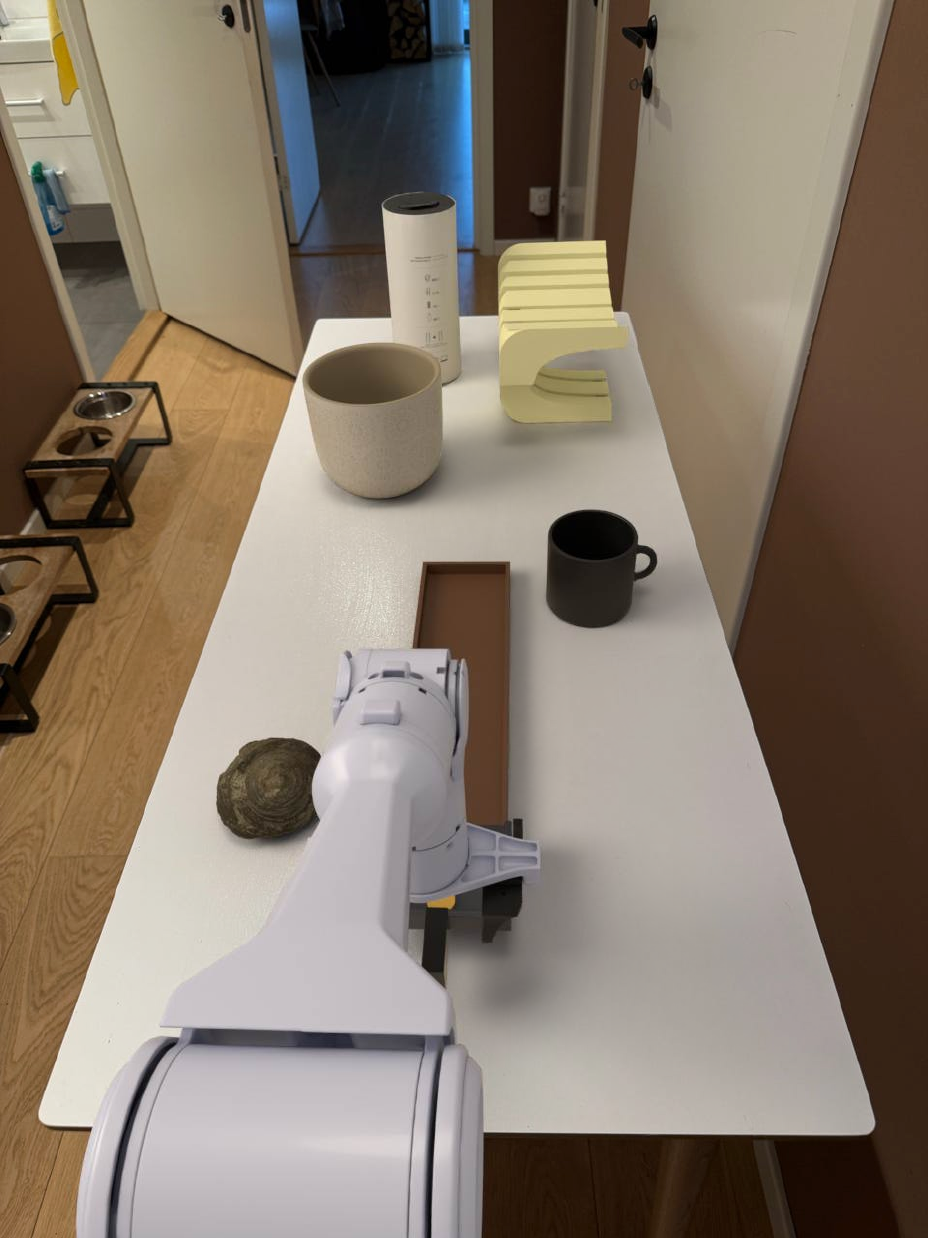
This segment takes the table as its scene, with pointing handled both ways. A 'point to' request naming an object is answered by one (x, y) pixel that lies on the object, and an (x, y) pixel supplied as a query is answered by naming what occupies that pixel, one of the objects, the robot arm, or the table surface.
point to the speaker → (424, 275)
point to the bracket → (518, 828)
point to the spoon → (444, 903)
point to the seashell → (268, 788)
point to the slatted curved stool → (554, 330)
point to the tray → (474, 668)
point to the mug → (593, 567)
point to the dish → (450, 922)
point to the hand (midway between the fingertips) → (431, 928)
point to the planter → (376, 417)
